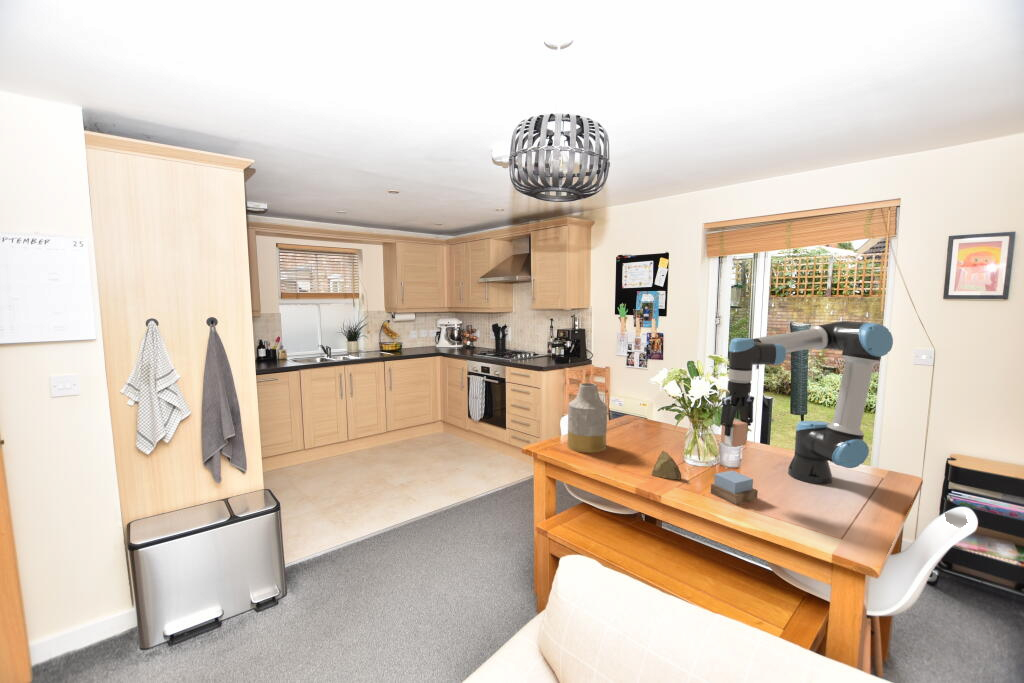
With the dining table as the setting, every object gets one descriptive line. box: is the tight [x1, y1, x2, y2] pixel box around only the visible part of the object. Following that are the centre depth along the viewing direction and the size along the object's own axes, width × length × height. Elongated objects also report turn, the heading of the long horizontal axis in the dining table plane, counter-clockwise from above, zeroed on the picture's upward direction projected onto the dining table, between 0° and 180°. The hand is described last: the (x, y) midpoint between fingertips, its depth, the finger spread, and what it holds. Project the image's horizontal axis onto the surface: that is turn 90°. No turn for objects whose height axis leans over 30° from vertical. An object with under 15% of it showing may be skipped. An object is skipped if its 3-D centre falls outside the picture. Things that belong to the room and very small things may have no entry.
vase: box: [567, 382, 608, 454], centre depth 223 cm, size 18×18×30 cm
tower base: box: [710, 483, 759, 506], centre depth 171 cm, size 11×11×4 cm
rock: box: [650, 450, 682, 480], centre depth 188 cm, size 11×9×10 cm
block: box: [720, 418, 748, 448], centre depth 170 cm, size 6×6×8 cm
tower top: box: [713, 470, 754, 494], centre depth 171 cm, size 9×9×4 cm
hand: (735, 443), depth 170 cm, fingers closed on block, 6 cm apart
